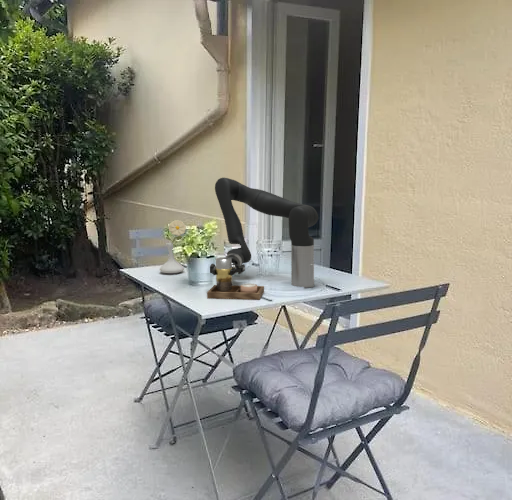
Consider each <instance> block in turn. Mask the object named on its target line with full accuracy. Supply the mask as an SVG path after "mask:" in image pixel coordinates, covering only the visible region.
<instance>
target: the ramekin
mask: <svg viewBox="0 0 512 500" xmlns="http://www.w3.org/2000/svg"><path fill="white" fill-rule="evenodd" d="M240 286H241V292H242V293H257V286H258V284H256V283H251V282H250V283H241V284H240Z"/></svg>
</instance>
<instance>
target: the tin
mask: <svg viewBox="0 0 512 500" xmlns="http://www.w3.org/2000/svg"><path fill="white" fill-rule="evenodd" d="M215 266H216V275H215V281H216V282H215V283H216V284H215V285H216V286H217V290H218V291H229V290H232V285H233V275H232V276H230V270H231V269H232V260H231V258H229V257H226V256H221V257H220V256H219V257H216V258H215Z"/></svg>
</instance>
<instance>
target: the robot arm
mask: <svg viewBox="0 0 512 500" xmlns="http://www.w3.org/2000/svg"><path fill="white" fill-rule="evenodd" d="M214 190H215V195H216V199H217V201H218V205H219V208H220V210H221V213H222V216H223V219H224V223H225V224H224V225H225V228H226V234H227V241H228V243H229V244H231V245H239V246H240V247H238V248H233V249H229V250H228V251H227V253H226V255H225V257H229V258H231V260H232V269H231V270H230V276H232V277H233V276H234V275H236V274H239V275H240V274H241V275H242V274H243V273H244V272H245V270H246V264H245V263H249V262H250V261H251V260H252V253H251V251H250V249H249V247H248V245H247V243H246V240H245V236H244V231H243V226H242V222H241V220H240V217H239V215H238V214H237V212H236V210H235V207H234V205H233V202H232V201H235V202H240V203H242V204H245V205H247V206H249V208H251V209H253V210H255V211H256V212H259V213H262V214H265V215H268V216H274V217H281V218H288V232H289V234H288V235H289V239H290V242H291V245H290V247H291V248H290V249H291V250H290V254H291V256H290V257H291V262H290V263H291V264H290V265H291V267H290V268H291V269H290V270H291V271H290V273H291V274H290V275H291V276H290V277H291V280H290V281H291V282H290V283H291V286H294V287H297V288H304V289H307V288H314V285H315V262H314V261H315V260H314V255H315V254H314V253H315V249H314V248H315V247H314V246H315V240H314V238H313V237H312V236H310V233H309V228H311V227H313V226H314V225H316V224H317V222H318V221H319V214H318V212H317V210H316V209H315V207H313V206H311V205H308V204H303V203H301V202H300V203H299V202H295V201H292V200H289V199H287V198H284V197H282V196H280V195H276V194H274V193H272V192H269V191H266V190H264V189H259V188H252V187H249V186H246V185H245V184H243V183H242V182H239V181H237V180H235V179H232V178H228V177H220V178H218V179H217V181H216V182H215V185H214ZM209 273H210V274H212V276H216V264H214V263H211V264H210V266H209Z"/></svg>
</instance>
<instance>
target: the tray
mask: <svg viewBox="0 0 512 500" xmlns="http://www.w3.org/2000/svg"><path fill="white" fill-rule="evenodd" d="M264 293H265V286H264V285H257V293H242V292H241V285H233V284H232V290H229V291H218V290H217V286H216V284H214V285H213V286H212V287H211V288H209V289H208V291H207V292H206V297H207V299H208V300H210V299H211V300H213V299H214V300H215V299H216V300H243V301H245V300H247V301H260V300H261V298H262V296H263V294H264Z"/></svg>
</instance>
